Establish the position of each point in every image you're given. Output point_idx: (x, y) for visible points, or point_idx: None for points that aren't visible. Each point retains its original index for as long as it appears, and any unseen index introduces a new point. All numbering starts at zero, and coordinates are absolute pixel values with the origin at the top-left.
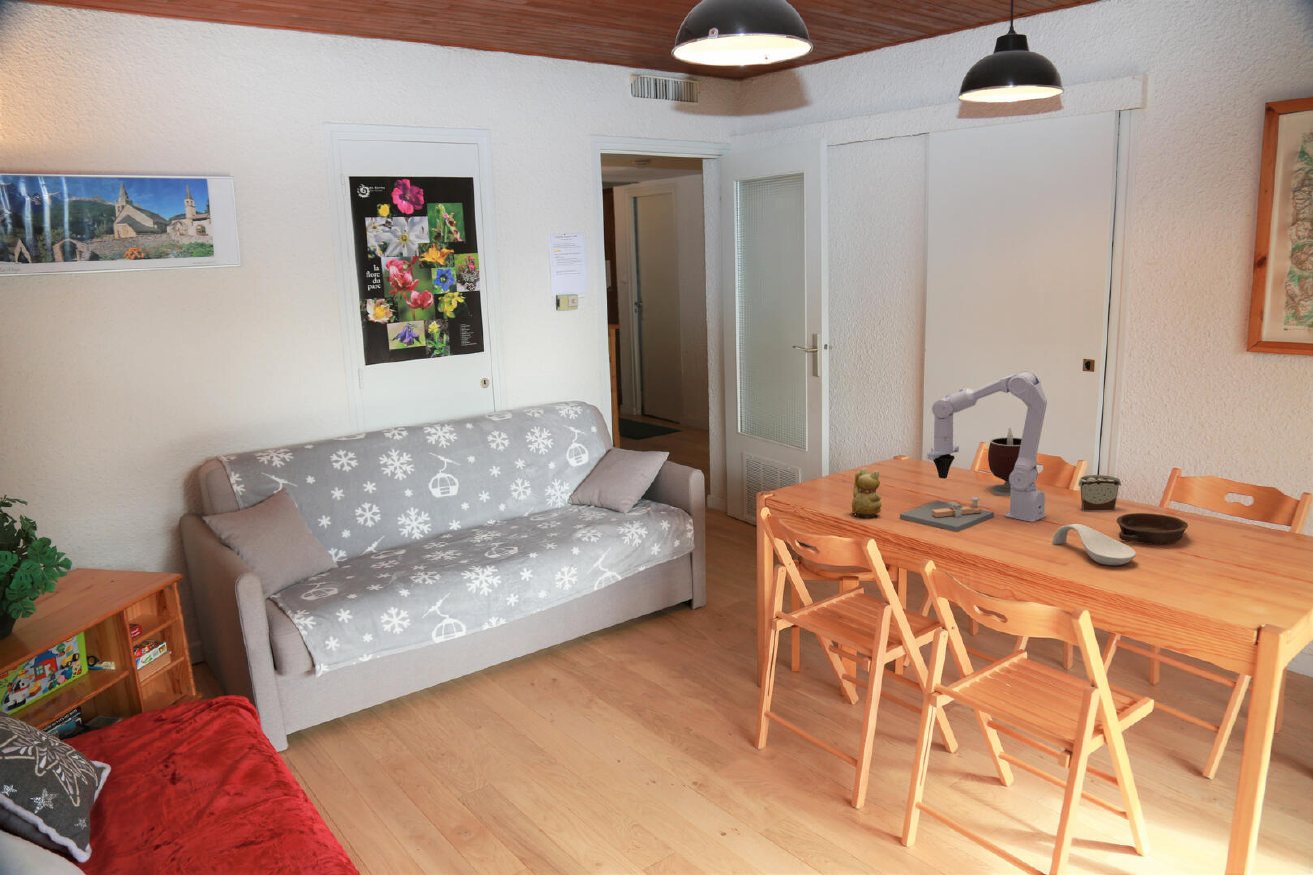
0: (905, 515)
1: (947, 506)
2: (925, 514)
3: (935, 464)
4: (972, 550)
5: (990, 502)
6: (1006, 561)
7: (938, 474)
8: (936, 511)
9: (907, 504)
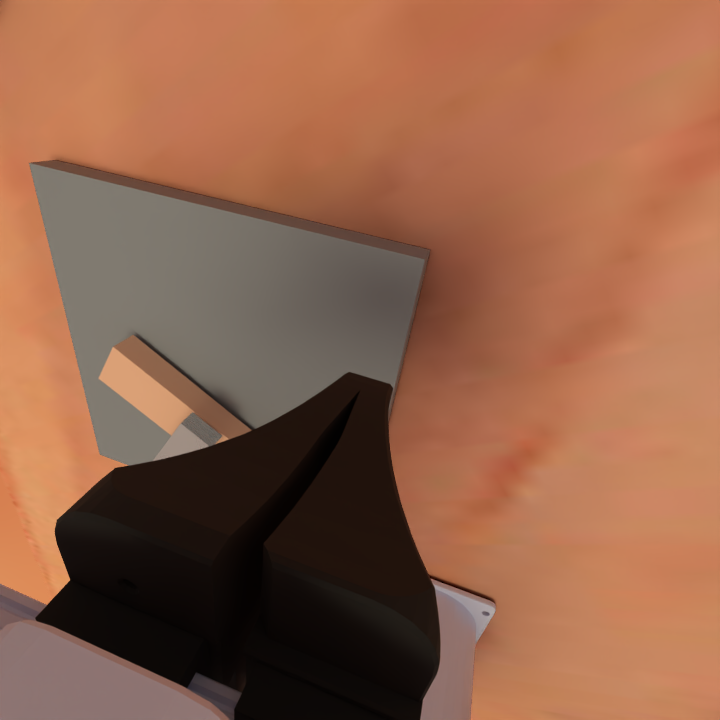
0: (40, 206)
1: (326, 360)
2: (127, 299)
3: (222, 446)
4: (32, 496)
5: (631, 511)
6: (43, 557)
7: (330, 386)
8: (109, 374)
9: (338, 19)
